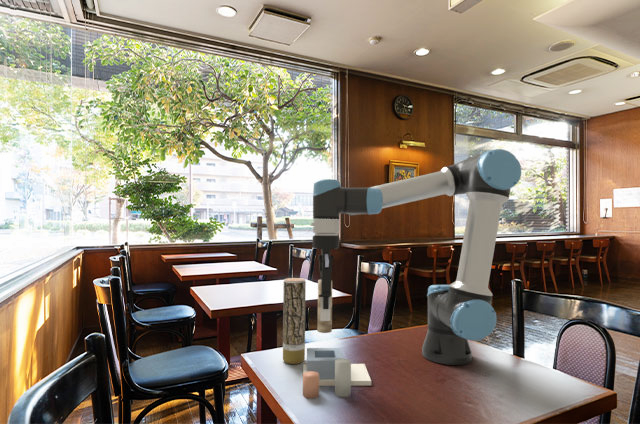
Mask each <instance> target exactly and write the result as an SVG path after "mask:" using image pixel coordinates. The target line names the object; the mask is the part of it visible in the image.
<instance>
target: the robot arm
mask: <svg viewBox="0 0 640 424" xmlns="http://www.w3.org/2000/svg"><path fill="white" fill-rule="evenodd" d="M521 176H522V166H521V163H520V161H519V160H518V158H517V157H516V155H514V153H512V152H510V151H508V150H506V149H503V148H495V149H490V150H486V151H484V152H482V153H479V154H477V155H474V156H471V157H468V158H466V159H463V160H461V161H459V162H457V163H454V164H451V165H447V166H444V167H442V168H441V169H440V170H439V171H436V172H435V171H434V172H431V173H427V174H423V175H418V176H415V177H410V178H405V179H401V180H396V181H392V182H389V183H387V182H386V183H383V184H380V185H374V186H370V187H346V186H341V182H340V180H338V179H333V178H329V179H328V178H322V179H317V180H316V181H314V183H313V190H312V191H313V194H312V219H313V220H312V221H313V222H312V221H311V222H310V226H312V233H313V234H314V235H313V236H312V248H313V249H315V250H321V254H318V257H317V258H318V263H319V264H318V265H319V266H318V269H319V273H320V274H319V275H320V276H319V277H320V279H319V280H321V295H319V297H321V311H320V321H330V312H331V280H332V271H333V262H334V256H333V254H331V250H337V249H339V248H340V236H339V234H340V233H341V231H340V230H341V228H340V227H341V225H340V224H341V222H340V221H341V219H340V214H341V215H342V214H347V215H349V216H357V215H369V216H370V215H379V214H380V213H381V212H382V209H386V208H390V207H394V206H399V205H404V204H407V203H412V202H417V201H421V200H425V199H430V198H435V197H438V196H442V195H443V196H444V195H446V196H449V197H452V196H458V195H466V197H467V198H468V199H469V205H468V210H467V211H468V212H467V217H466V222H465V229H464V234H463V241H462V245H461V252H460V258H459V263H458V268H457V269H458V270H457V274H456V275H457V276H456V279H455V281H453V282H452V283H450V284H432V285H430V286H428V288H427V294H426V297H427V332H426V335H425V338H424V341H423V342H422V343H423V344H422V347H421V351H422V352H421V355H422V356H423V357H424V358H425V359H426V360H428V361H430V362H433V363H438V364H443V365H449V366H461V365H467V364H470V363H471V362H473V361H472V359H473V356H472V355H473V354H472V350H471V347H470V343H469V341H471V342H472V341H473V342H475V341H481V340H483V339H485V338H486V337H488V336H490V335H491V334H492V333H493V331H494V330H495V328H496V325H497V319H498V318H497V313H496V311H495V309H494V307H493V306H492V300H493V296H494V295H493V292H492V291H491V290H490V289H489V282H490V277H491V271H492V265H493V259H494V253H495V246H496V241H497V235H498V228H499V223H500V217H501V212H502V211H501V210H502V206H503V204H505V203H506V202H508V201H509V200H510V194H511V189H512V188H514V187H515V186H516V185H517V184H518V183H519V181H520V180H521Z"/></svg>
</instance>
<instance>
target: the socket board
mask: <svg viewBox="0 0 640 424" xmlns="http://www.w3.org/2000/svg"><path fill="white" fill-rule="evenodd" d="M341 358H344V359H345V357H344V353H343V349H342V347H307V348H306V363H303V365H302V367H303V370H302V372H303V373H302V375H303V374H304V373H305V372H308V371H314V372H317V373H319V387H320V386H321V387H324V386H325V387H327V386H328V387H331V386H332V387H333V386H334V387H335V360H337V359H341ZM352 386H353V387H356V386H358V387H359V386H361V387H362V386H372V379H371V377H370V374H369V371H368V370H367V367H366V364H365V363H351V387H352Z"/></svg>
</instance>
